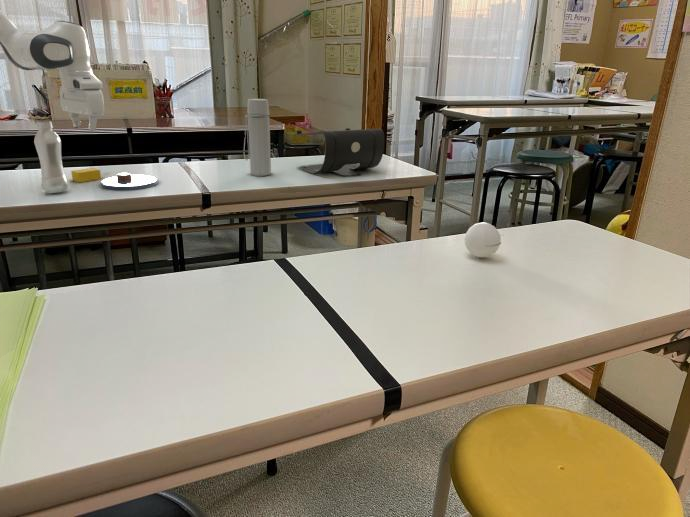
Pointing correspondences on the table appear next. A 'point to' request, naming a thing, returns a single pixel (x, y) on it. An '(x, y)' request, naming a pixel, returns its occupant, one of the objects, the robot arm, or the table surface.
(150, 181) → the plate
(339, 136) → the laptop stand
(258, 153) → the water bottle
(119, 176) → the crust
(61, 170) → the plastic bottle
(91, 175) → the sponge
